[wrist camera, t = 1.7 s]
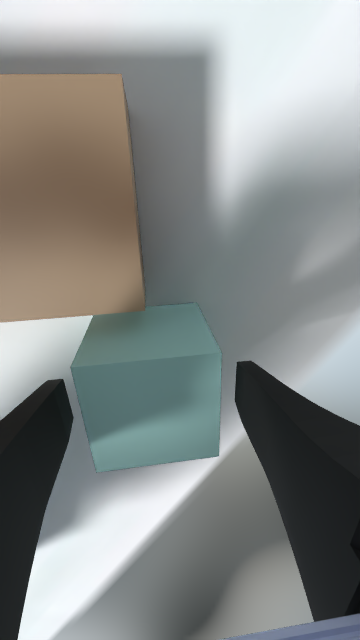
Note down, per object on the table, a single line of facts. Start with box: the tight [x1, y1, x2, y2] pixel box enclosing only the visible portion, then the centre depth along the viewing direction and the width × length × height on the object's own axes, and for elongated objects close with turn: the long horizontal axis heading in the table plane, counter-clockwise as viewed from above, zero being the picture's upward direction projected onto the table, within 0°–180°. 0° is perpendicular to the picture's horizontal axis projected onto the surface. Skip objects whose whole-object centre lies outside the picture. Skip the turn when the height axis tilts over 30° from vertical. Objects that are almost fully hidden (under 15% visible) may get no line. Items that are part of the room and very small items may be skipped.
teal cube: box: [71, 303, 222, 473], centre depth 12 cm, size 5×5×5 cm
